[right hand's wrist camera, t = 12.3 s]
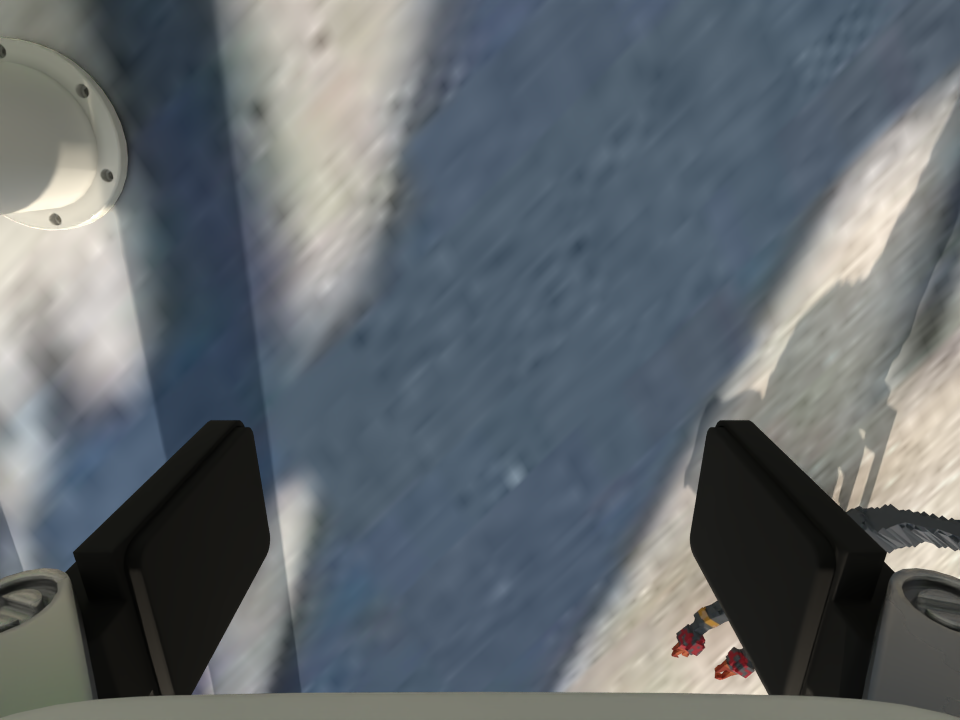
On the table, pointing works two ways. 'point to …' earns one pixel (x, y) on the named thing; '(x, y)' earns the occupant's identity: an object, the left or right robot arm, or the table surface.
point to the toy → (880, 524)
